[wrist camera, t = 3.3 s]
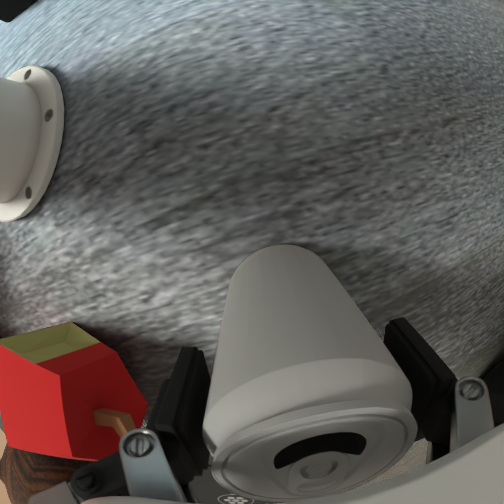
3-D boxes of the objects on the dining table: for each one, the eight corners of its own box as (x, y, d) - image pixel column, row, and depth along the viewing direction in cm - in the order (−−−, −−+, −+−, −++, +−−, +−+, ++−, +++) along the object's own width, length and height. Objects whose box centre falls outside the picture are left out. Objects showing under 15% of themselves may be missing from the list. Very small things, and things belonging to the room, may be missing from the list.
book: (288, 504, 27) (290, 519, 24) (194, 502, 27) (192, 516, 24) (307, 441, 21) (311, 464, 18) (158, 437, 21) (152, 459, 18)
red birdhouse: (25, 295, 18) (126, 279, 14) (85, 390, 22) (200, 412, 18) (-55, 363, 8) (-22, 427, 3) (31, 463, 12) (146, 538, 7)
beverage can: (330, 236, 16) (464, 362, 4) (330, 328, 17) (395, 484, 6) (222, 246, 16) (160, 411, 4) (235, 339, 18) (221, 510, 6)
